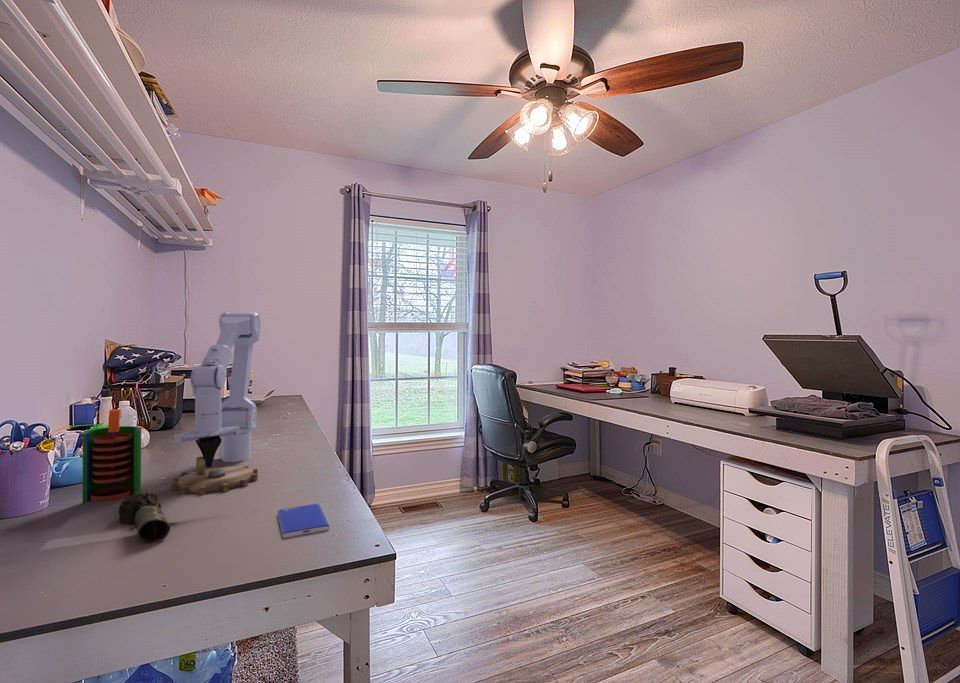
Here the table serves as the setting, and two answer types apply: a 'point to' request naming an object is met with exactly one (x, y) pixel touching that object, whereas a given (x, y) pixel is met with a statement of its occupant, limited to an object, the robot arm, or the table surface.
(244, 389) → the robot arm
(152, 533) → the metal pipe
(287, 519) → the hard drive
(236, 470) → the sprocket
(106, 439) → the motor
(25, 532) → the table surface
